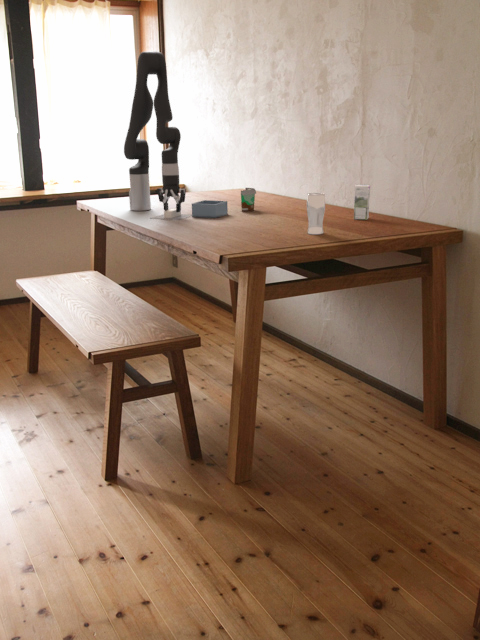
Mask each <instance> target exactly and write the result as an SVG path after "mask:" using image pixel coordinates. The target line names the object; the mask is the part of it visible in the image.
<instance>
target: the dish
mask: <svg viewBox="0 0 480 640" xmlns="http://www.w3.org/2000/svg"><path fill="white" fill-rule="evenodd" d="M228 211H229V210H228V201H227V200H211V199H210V200H209V199H208V200H207V199H202V200H200V201H196V202H192V203H191V215H192V216H191V217H192V218H201V219H202V218H203V219H206V218H207V219H218V218H221V217H223V216H227V215H228V214H229V213H228Z"/></svg>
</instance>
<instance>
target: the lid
mask: <svg viewBox="0 0 480 640" xmlns="http://www.w3.org/2000/svg"><path fill="white" fill-rule="evenodd" d="M190 216H191V217H192V214H186V213H185V214H184V213H182V210H181V211H180V212H176V207H175V208H171V209H168V210H167V211H165V210H163V214H161V215H157V216H153V217H150V218H149V219H151V220H152V219H153V220H154V219H155V220H169V221H181V220H183V219H184V220H185V219H187V218H191V217H190Z"/></svg>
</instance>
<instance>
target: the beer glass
mask: <svg viewBox="0 0 480 640" xmlns="http://www.w3.org/2000/svg"><path fill="white" fill-rule="evenodd" d="M306 197H307V198H306V213H307V214H306V215H307V219H308V227H307V235H311V236H312V235H313V236H317V235H323V234H324V228H323V227H324V226H323V224H324V223H323V222H324V217H325V212H326V193H323V192H309V193H307V196H306Z"/></svg>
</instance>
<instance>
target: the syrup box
mask: <svg viewBox="0 0 480 640" xmlns="http://www.w3.org/2000/svg"><path fill="white" fill-rule="evenodd" d="M370 193H371V185H370V184H363V183H362V184H361V183H360V184H359V183H358V184H355V185H354V202H353V203H354V205H353V207H354V209H353V220H357V221H358V220H359V221H367V220H368V219H370V215H369V214H370V197H371V194H370Z"/></svg>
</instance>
